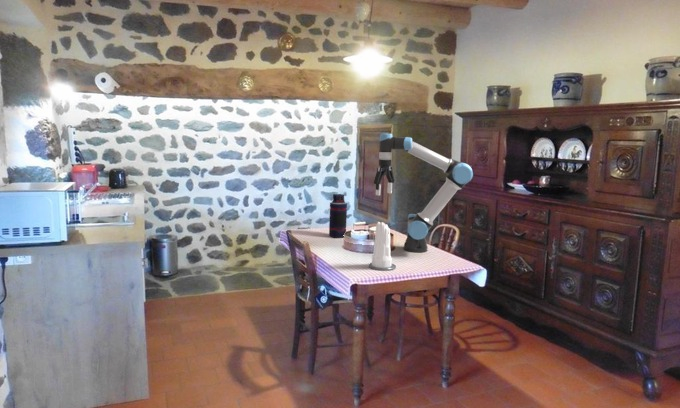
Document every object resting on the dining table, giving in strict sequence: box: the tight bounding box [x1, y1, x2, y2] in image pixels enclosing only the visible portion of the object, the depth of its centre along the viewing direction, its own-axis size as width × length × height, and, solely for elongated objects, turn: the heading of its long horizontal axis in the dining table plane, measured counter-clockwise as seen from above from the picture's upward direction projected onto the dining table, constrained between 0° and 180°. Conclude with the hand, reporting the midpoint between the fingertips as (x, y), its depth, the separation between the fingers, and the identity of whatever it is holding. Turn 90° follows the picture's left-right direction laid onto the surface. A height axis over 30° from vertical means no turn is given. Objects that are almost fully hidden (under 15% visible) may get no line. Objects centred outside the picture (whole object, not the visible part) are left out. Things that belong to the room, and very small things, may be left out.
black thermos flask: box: [328, 193, 348, 239], centre depth 341 cm, size 14×12×30 cm
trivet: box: [368, 262, 397, 272], centre depth 269 cm, size 15×15×1 cm
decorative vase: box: [371, 221, 393, 268], centre depth 267 cm, size 11×11×25 cm
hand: (383, 194), depth 296 cm, fingers open, 13 cm apart
